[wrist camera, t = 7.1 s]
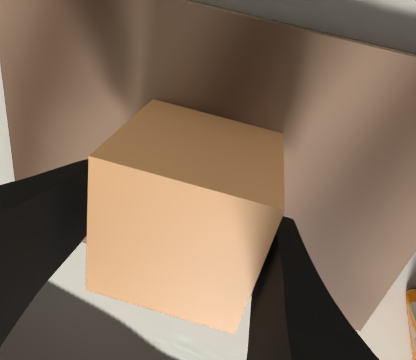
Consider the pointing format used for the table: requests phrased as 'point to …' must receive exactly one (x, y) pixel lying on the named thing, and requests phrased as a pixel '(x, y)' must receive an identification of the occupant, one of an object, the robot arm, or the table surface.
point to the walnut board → (232, 113)
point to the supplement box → (412, 318)
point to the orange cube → (183, 213)
